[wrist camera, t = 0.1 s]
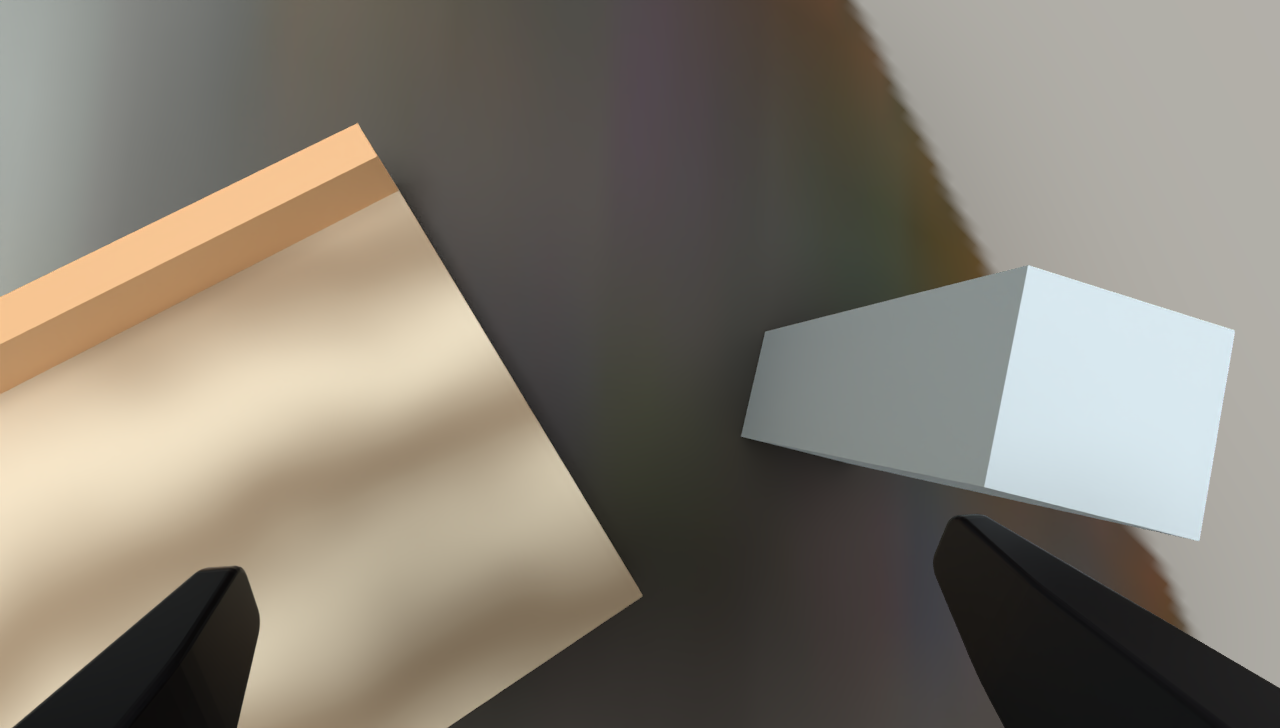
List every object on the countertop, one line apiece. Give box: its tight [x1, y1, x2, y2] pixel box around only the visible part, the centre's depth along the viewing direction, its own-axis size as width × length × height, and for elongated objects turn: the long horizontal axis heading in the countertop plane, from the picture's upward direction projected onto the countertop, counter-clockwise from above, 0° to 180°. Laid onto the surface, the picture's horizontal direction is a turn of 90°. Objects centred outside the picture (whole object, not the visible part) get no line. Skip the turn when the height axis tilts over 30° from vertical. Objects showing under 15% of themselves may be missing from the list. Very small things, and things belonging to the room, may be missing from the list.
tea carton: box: [741, 265, 1235, 541], centre depth 18 cm, size 4×4×13 cm
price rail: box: [0, 123, 399, 394], centre depth 17 cm, size 1×20×3 cm, turn 121°
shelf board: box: [0, 171, 643, 728], centre depth 20 cm, size 16×20×2 cm
